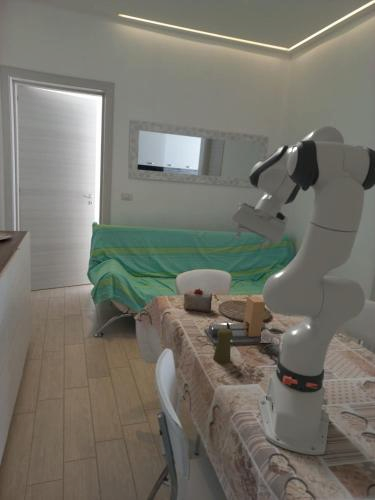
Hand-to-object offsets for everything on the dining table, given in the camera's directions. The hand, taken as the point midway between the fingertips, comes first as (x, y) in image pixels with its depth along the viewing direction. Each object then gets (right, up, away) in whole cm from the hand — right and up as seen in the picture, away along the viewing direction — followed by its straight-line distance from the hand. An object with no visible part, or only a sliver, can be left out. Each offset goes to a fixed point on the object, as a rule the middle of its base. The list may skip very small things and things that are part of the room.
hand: (248, 242), depth 127 cm
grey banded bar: (-3, -36, +10) cm, 38 cm away
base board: (-3, -38, +10) cm, 39 cm away
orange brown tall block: (+3, -36, +12) cm, 38 cm away
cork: (-11, -41, -8) cm, 43 cm away
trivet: (+5, -33, +38) cm, 51 cm away
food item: (-18, -31, +36) cm, 51 cm away
